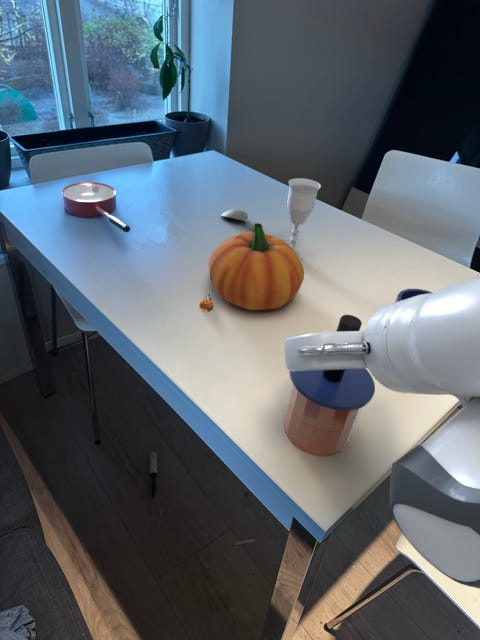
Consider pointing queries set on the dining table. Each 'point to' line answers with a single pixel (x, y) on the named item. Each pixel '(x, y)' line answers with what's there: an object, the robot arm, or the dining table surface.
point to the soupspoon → (238, 216)
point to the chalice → (300, 204)
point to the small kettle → (206, 304)
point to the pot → (318, 425)
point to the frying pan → (92, 201)
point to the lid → (337, 380)
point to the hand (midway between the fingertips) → (350, 354)
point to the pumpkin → (256, 270)
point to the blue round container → (410, 294)
